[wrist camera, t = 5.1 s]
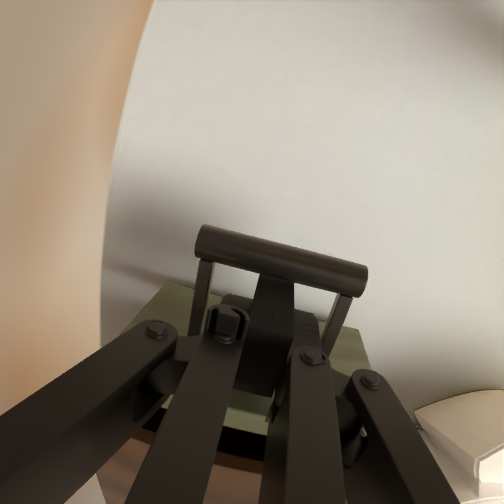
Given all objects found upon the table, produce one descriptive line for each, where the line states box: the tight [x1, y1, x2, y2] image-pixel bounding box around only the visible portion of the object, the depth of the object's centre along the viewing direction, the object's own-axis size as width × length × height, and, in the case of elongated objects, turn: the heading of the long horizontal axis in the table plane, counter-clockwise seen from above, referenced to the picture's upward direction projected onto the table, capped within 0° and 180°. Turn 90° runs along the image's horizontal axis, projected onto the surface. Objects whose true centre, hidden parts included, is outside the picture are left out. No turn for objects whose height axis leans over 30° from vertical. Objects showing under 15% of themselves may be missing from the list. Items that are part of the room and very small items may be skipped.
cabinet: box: [96, 428, 348, 504], centre depth 19 cm, size 16×14×11 cm
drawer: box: [121, 224, 371, 461], centre depth 17 cm, size 20×12×9 cm, turn 167°
